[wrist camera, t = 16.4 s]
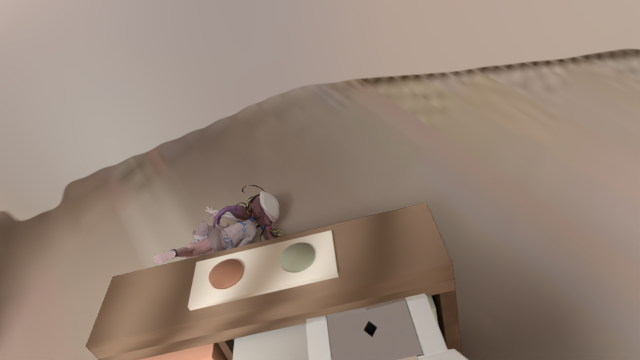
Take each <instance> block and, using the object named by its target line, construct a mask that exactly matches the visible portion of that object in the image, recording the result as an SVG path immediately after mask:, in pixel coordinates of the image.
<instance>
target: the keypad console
mask: <svg viewBox="0 0 640 360" xmlns="http://www.w3.org/2000/svg"><path fill="white" fill-rule="evenodd" d="M423 293H425V295H426V296H432V299H433V302H434V305H435V308H436V313H437V320H438V326H439V328H440V331H441V333H442V336H443V339H444V341H445V344H446V346H447V349H448V350H450V349H455V350H456V351H458V352H459V353H460V354H462V350H461V340H460V330H459V321H458V311H457V301H456V291H455V282H454V272H453V263H452V261H451V259H450V256H449V254H448V252H447V249H446V247H445V245H444V242H443V240H442V238H441V235H440V233H439V231H438V228H437V226H436V224H435V221H434V219H433V217H432V214H431V212H430V210H429V207H428V205H427V203H421V204H417V205H413V206H409V207H405V208H400V209H396V210H392V211H388V212H384V213H379V214H375V215H371V216H367V217H362V218H358V219H354V220H350V221H346V222H341V223H337V224H333V225H329V226H324V227H320V228H316V229H312V230H308V231H303V232H299V233H295V234H291V235H286V236H282V237H278V238H274V239H270V240H265V241H261V242H257V243H253V244H248V245H244V246H240V247H236V248H232V249H227V250H223V251H219V252H215V253H210V254H206V255H202V256H198V257H194V258H189V259H185V260H181V261H177V262H172V263H168V264H164V265H160V266H156V267H151V268H147V269H143V270H139V271H134V272H130V273H126V274H122V275H118V276H113V277H112V280H111V283H110V285H109V288H108V290H107V293H106V295H105V298H104V301H103V303H102V306H101V308H100V311H99V313H98V316H97V319H96V321H95V324H94V326H93V329H92V331H91V334H90V337H89V339H88V342H87V344H86V347H87V348H88V349H89V350H90V351H91V352H92V354H93V355H94V356H95V357H96V358H97V359H98V360H140V359H145V358H149V357H154V356H158V355H163V354H168V353H172V352H177V351H181V350H186V349H190V348H195V347H199V346H204V345H208V344H213V343H218V345H219V346H220V348H221V349H222V351H223V352H224V354H225V355H226V357H227V358H228V360H233V350H234V341H233V339H236V338H240V337H245V336H249V335H254V334H258V333H263V332H267V331H272V330H276V329H281V328H286V327H290V326H295V325H299V324H304V323H306V320H307V319H310V318H315V317H319V316H324V315H329V314H334V313H339V312H344V311H349V310H354V309H359V308H365V307H366V306H370V305H374V304H378V303H382V302H387V301H391V300H395V299H399V298H404V299H405V298H406V297H410V296H415V295H419V294H423Z"/></svg>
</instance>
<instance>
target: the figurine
mask: <svg viewBox="0 0 640 360" xmlns="http://www.w3.org/2000/svg"><path fill="white" fill-rule="evenodd" d="M249 186H255V185H249ZM245 187H246V186H245ZM256 187H258V186H256ZM259 188H260V187H259ZM261 189H262V188H261ZM262 190H263V189H262ZM242 192H243V189H242ZM253 197H254V198H253ZM253 197H251V198H253V199H251V200H250V201H249V202H248V203H247V205H246V204H245V203H243V204H245V205H246V207H243V206H239V205H238V204H237V205H236V206H227V207H225V208H223V209H222V210H220V211H219V210H218V209H216V210H213V208H212V206H210V207H211V209H210V208H208V207H207V209H208V210H204V211H205V212H209V213H211V214H212V215H213V216H212V217H211V218H213V217H215V218H214V223H213V226H208V225H207V224H206V223H205V222H204V221H203V222H201V223H200V224H198V225H197V226H198V232H196V231H193V235H194V239H193V241H192V243H189V244H188V246H187V247H182V248H180V249H177V250H175V249H172V250H170V251H168V252H164V253H160V254H158V255H155V256H154V258H153V260H154V263H156V264H159V263H162V262H165V261H167V260H169V259H171V258H175V257H186V258H188V257H190V258H194V257H198V256H201V255H200V254H204V255H206V254H210V253H215V252H219V251H223V250H227V249H232V248H235V246H236V244H237V242H238V241H239V240H241V239H243V240H242V241H241V242H240V244H239V246H238V247H240V246H244V245H248V244H250V243H251V241H252V239H253V237H254V235H255V234H256V233H257V227H260V226H262V227H261V229H262V230H263V231H262V233H263V232H264V233H263V235H264V238H265V240H270V239H274V238H275V237H274V236H276V235H274V234H273V233H272V232H271V230H272V231H274V230H275V229H273V228H271V225H272V221H273V222H274V223H276V221H277V219H278V217H279V203H278V201H277V199H276V198H275V197H274V196H273V195H272V194H269V193H266V192H263V191H261V192H260V194H258V195H255V196H253ZM249 199H250V198H249ZM249 199H248V200H249ZM239 204H240V203H239ZM221 217H222V218H227V219H232V220H236V221H238V222H236V223H234V224H232V225H230V226H229V225H228V226H229V227H228V226H227V228H226V227H223V228H224V229H220V228H218V227H217V226H215V222H216V221H217V220H218V221H217V225H218V226H219V224H220V219H221ZM211 218H210V219H211ZM256 223H258V225H257V226H256ZM219 227H222V226H219ZM277 231H280V230H277ZM274 232H276V231H274ZM280 232H281V234H282V233H283V232H282V231H280ZM262 233H261V235H262ZM276 233H277V232H276ZM277 234H278V235H279V236H281V234H279V233H277ZM260 237H261V236H260ZM276 237H278V236H276ZM281 237H282V236H281ZM260 240H261V239H260Z"/></svg>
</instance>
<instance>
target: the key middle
mask: <svg viewBox="0 0 640 360" xmlns="http://www.w3.org/2000/svg"><path fill="white" fill-rule="evenodd" d="M233 360H309V358H308V346H307V334H306V323H304V324H299V325H295V326H290V327H286V328H281V329H276V330H272V331H267V332H263V333H258V334H254V335H249V336H245V337H240V338H236V339H234V350H233Z"/></svg>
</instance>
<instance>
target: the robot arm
mask: <svg viewBox="0 0 640 360" xmlns="http://www.w3.org/2000/svg"><path fill="white" fill-rule="evenodd" d="M306 334H307V346H308V358H309V360H468V359H467V358H466V357H464V356H463V355H462V354H460V353H459V352H458V351H456V350H455V349H450V350H448V349H447V346H446V344H445V341H444V339H443V336H442V333H441V331H440V328H439V326H438V323H437V320H436V318H435V315H434V313H433V310H432V308H431V305H430V302H429V300H428V297H427V296H426V295H425V293H423V294H419V295H415V296H410V297H406V298H405V299H404V298H399V299H395V300H391V301H387V302H382V303H378V304H374V305H370V306H366V307H365V308H359V309H354V310H349V311H344V312H339V313H334V314H329V315H324V316H319V317H315V318H310V319H307V320H306Z"/></svg>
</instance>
